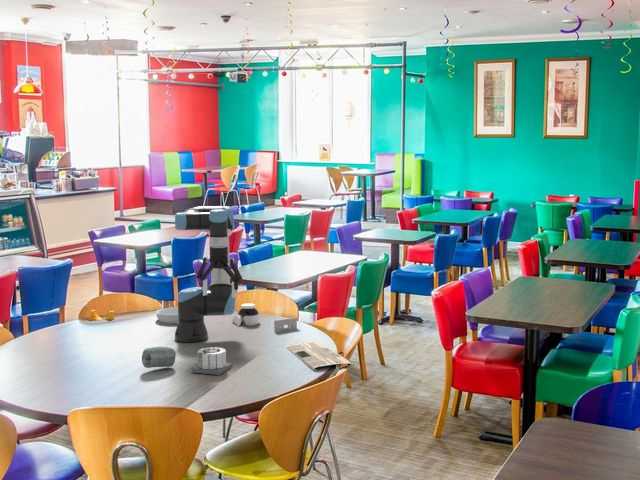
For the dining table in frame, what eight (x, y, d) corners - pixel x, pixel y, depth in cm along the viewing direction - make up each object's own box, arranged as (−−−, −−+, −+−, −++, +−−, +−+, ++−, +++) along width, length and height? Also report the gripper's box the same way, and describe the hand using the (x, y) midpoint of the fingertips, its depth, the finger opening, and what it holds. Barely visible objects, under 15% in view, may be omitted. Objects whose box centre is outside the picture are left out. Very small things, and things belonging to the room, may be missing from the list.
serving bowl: (178, 317, 402) (177, 305, 401) (206, 322, 390) (206, 309, 389) (147, 325, 385) (147, 311, 384) (176, 330, 373) (176, 316, 372)
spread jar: (261, 327, 379) (261, 304, 378) (247, 332, 369) (246, 308, 368) (242, 324, 385) (241, 302, 384) (228, 329, 376) (227, 305, 374)
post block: (191, 372, 302) (191, 353, 301) (205, 364, 313) (205, 346, 312) (219, 375, 298) (218, 356, 297) (232, 366, 309) (231, 348, 308)
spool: (142, 368, 298) (151, 344, 299) (135, 362, 306) (143, 339, 307) (174, 376, 305) (182, 352, 306) (165, 370, 313) (173, 347, 314)
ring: (193, 367, 302) (192, 353, 301) (205, 360, 312) (205, 346, 312) (218, 370, 298) (218, 355, 298) (230, 362, 309) (230, 348, 308)
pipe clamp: (89, 324, 388) (88, 311, 387) (92, 322, 392) (92, 310, 391) (111, 325, 386) (111, 312, 386) (114, 323, 391) (114, 310, 390)
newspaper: (284, 350, 336) (284, 344, 336) (325, 346, 343) (325, 340, 343) (313, 373, 302) (313, 366, 302) (358, 368, 309) (358, 361, 308)
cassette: (295, 332, 368) (295, 317, 367) (297, 333, 366) (297, 317, 365) (273, 336, 361) (273, 320, 361) (275, 336, 360) (275, 320, 359)
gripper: (187, 246, 320) (189, 295, 323) (242, 249, 312) (242, 300, 315) (196, 243, 327) (197, 292, 330) (249, 246, 319) (250, 296, 322)
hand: (219, 296), depth 323 cm, fingers open, 13 cm apart
